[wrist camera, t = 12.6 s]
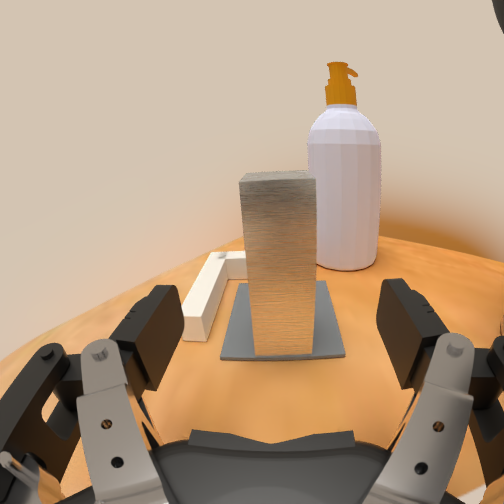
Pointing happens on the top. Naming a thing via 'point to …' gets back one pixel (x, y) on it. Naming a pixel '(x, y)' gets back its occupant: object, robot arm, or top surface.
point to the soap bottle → (345, 177)
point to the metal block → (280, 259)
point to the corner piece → (210, 292)
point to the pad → (242, 348)
